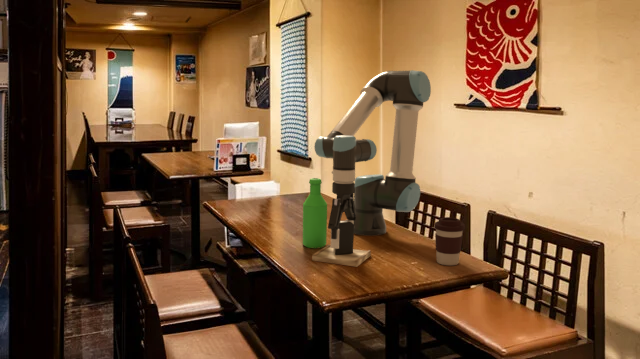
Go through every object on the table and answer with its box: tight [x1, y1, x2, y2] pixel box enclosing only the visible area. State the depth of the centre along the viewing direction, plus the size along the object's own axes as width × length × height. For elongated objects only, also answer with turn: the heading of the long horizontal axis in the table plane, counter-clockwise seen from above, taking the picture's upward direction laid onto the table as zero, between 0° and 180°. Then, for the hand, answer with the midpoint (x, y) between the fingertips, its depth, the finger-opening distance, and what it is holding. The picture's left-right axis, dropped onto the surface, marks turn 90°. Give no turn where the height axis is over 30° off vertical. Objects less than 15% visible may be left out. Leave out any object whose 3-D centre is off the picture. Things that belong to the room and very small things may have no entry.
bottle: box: [302, 177, 328, 249], centre depth 210 cm, size 9×9×25 cm
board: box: [311, 244, 372, 268], centre depth 197 cm, size 14×16×2 cm
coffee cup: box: [433, 216, 466, 267], centre depth 193 cm, size 10×10×15 cm
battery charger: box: [334, 219, 355, 255], centre depth 197 cm, size 7×4×11 cm, turn 109°
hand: (342, 243), depth 197 cm, fingers open, 13 cm apart
